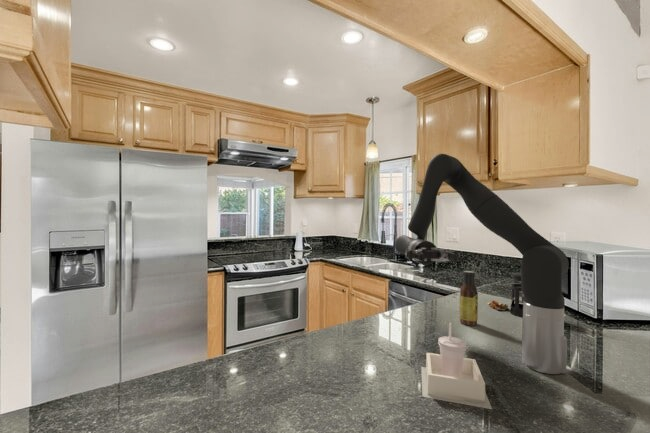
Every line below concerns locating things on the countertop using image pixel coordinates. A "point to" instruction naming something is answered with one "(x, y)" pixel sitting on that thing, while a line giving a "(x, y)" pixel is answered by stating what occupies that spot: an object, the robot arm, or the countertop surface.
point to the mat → (425, 394)
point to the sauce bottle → (468, 300)
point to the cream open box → (455, 381)
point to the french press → (516, 296)
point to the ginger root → (498, 305)
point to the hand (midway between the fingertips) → (439, 257)
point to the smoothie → (452, 354)
